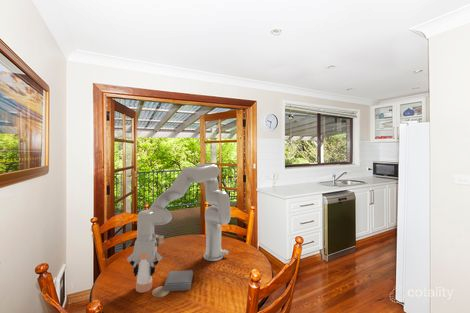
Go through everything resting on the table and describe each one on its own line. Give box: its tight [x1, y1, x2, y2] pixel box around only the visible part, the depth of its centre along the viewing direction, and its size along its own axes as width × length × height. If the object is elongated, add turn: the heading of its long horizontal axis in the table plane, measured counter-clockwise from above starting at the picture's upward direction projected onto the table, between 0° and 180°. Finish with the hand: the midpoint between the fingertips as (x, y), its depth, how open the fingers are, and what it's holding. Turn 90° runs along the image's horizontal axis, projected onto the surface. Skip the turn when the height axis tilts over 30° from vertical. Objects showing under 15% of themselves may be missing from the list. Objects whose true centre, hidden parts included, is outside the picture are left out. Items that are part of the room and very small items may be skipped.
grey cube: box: [155, 234, 165, 246], centre depth 156 cm, size 5×5×5 cm
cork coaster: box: [151, 285, 171, 298], centre depth 101 cm, size 8×8×1 cm
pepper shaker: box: [135, 253, 153, 293], centre depth 104 cm, size 7×7×19 cm
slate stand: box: [163, 269, 194, 292], centre depth 108 cm, size 12×12×3 cm
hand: (144, 274), depth 103 cm, fingers closed on pepper shaker, 6 cm apart
